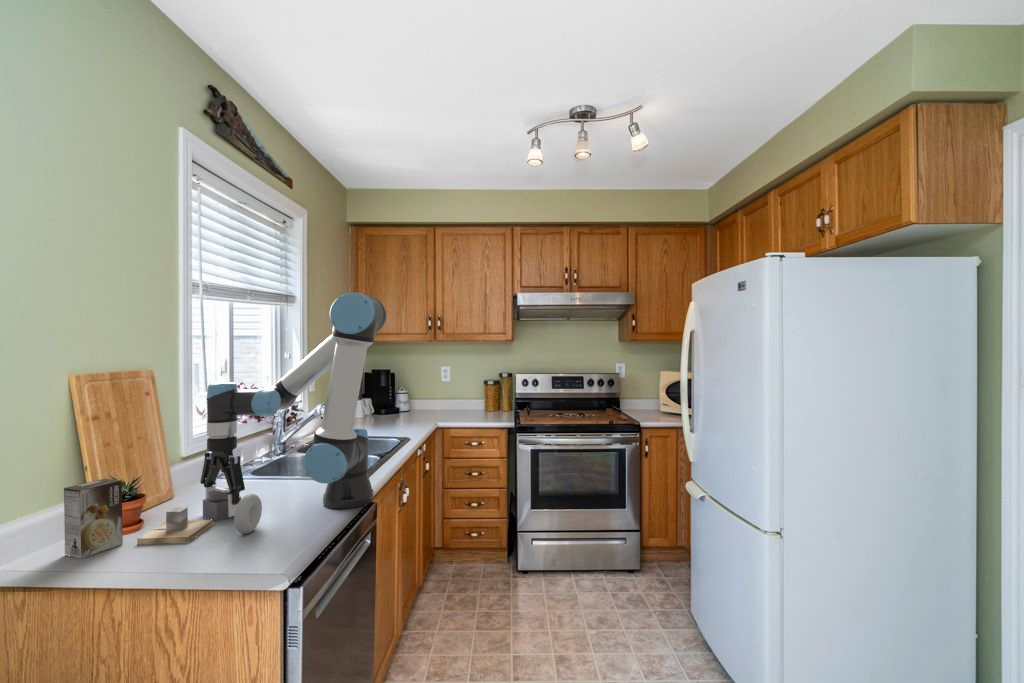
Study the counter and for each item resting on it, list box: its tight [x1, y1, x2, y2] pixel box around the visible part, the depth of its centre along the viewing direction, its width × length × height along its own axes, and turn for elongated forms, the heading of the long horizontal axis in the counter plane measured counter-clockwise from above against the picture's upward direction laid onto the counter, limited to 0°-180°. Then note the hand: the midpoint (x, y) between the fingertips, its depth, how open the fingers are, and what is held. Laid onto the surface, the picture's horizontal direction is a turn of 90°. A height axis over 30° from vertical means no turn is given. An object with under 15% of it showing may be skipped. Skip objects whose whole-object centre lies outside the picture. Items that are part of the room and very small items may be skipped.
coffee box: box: [63, 478, 124, 559], centre depth 119 cm, size 9×6×16 cm
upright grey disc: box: [233, 493, 263, 535], centre depth 130 cm, size 10×4×10 cm, turn 0°
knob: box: [202, 486, 242, 522], centre depth 143 cm, size 7×7×8 cm
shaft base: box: [136, 506, 214, 546], centre depth 129 cm, size 12×12×6 cm
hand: (222, 512), depth 143 cm, fingers open, 11 cm apart
